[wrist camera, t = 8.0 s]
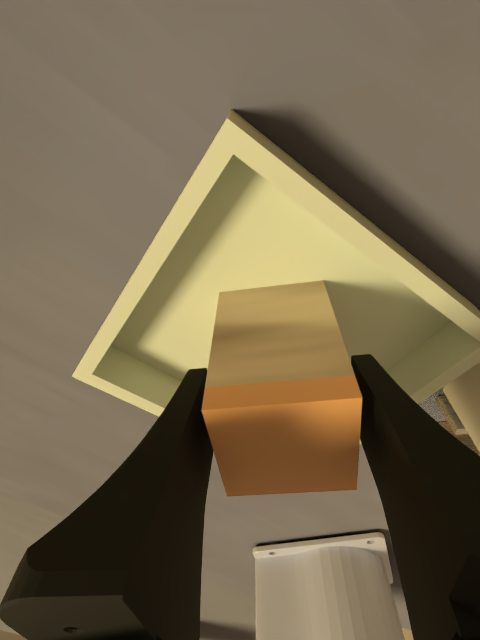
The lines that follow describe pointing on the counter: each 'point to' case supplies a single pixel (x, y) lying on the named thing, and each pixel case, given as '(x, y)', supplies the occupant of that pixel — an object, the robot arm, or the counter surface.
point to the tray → (274, 278)
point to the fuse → (467, 401)
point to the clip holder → (455, 423)
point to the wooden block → (281, 393)
